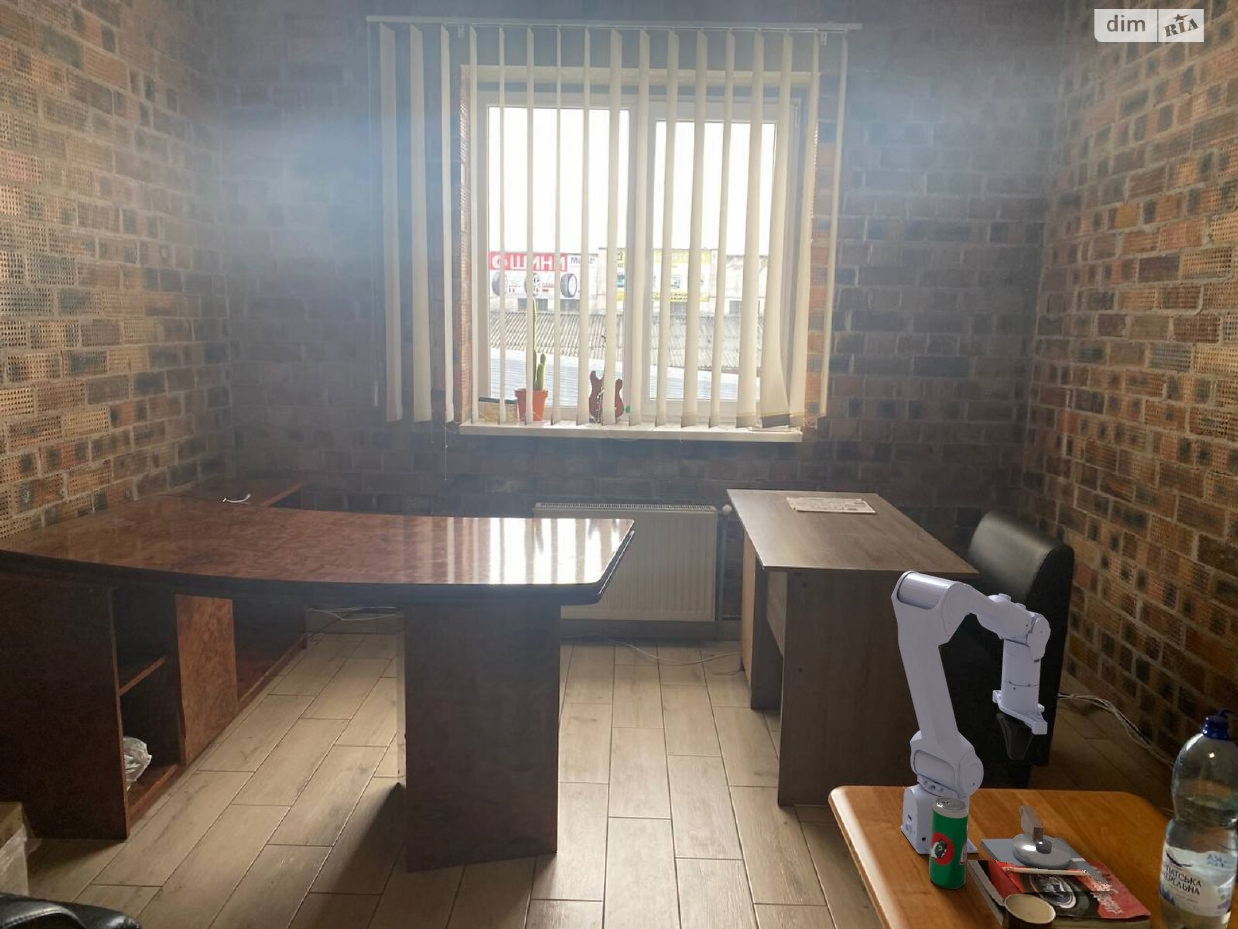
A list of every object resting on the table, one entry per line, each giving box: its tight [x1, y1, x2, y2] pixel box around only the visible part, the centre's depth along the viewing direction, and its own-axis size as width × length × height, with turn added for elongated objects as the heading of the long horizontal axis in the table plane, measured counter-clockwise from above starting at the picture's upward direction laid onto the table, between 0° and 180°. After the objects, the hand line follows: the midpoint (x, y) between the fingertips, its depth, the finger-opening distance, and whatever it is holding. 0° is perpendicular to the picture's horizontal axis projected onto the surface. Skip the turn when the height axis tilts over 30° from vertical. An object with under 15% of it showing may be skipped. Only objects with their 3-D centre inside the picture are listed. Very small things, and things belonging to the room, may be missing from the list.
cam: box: [1012, 804, 1071, 870], centre depth 138 cm, size 14×8×4 cm, turn 169°
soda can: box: [928, 796, 970, 890], centre depth 130 cm, size 5×5×12 cm
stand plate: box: [980, 837, 1111, 886], centre depth 134 cm, size 13×13×1 cm
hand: (1015, 758), depth 151 cm, fingers closed
